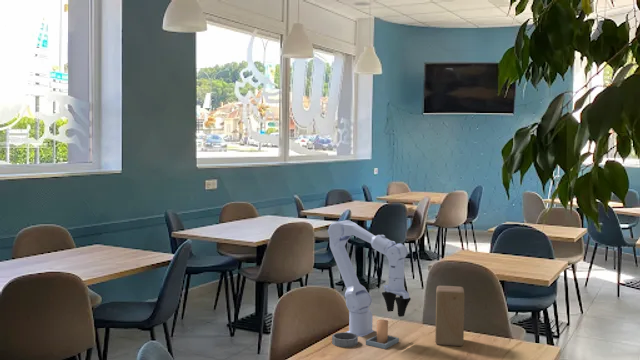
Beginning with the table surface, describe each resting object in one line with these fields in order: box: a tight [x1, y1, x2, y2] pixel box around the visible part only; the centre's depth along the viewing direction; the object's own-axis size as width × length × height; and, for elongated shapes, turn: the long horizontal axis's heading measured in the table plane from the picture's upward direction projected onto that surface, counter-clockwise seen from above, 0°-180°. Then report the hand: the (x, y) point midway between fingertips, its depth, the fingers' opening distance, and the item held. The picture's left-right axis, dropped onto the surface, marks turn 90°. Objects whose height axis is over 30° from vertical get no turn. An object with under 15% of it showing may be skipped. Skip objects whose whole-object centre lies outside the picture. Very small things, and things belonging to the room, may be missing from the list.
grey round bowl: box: [331, 331, 359, 348], centre depth 222 cm, size 9×9×3 cm
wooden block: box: [434, 285, 465, 347], centre depth 226 cm, size 10×10×20 cm
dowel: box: [376, 319, 389, 344], centre depth 222 cm, size 4×4×8 cm
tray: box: [365, 335, 400, 350], centre depth 222 cm, size 10×8×2 cm
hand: (395, 313), depth 226 cm, fingers open, 7 cm apart
